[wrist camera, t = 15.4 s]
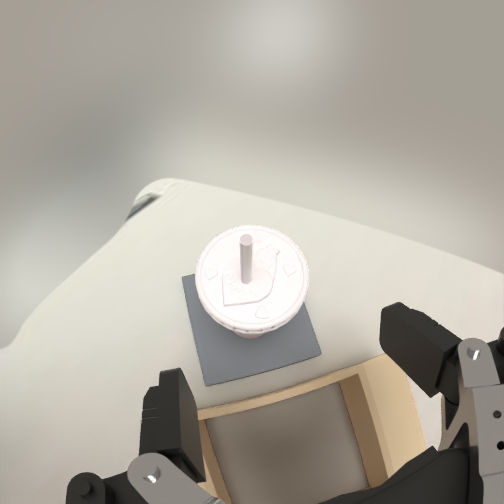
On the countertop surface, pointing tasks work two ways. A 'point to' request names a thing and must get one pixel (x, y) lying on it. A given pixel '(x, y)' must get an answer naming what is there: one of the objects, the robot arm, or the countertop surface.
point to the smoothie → (252, 279)
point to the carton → (361, 414)
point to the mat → (246, 343)
